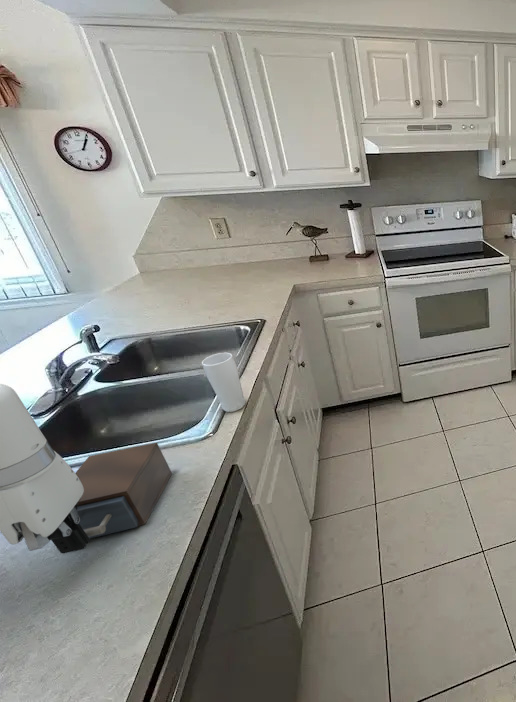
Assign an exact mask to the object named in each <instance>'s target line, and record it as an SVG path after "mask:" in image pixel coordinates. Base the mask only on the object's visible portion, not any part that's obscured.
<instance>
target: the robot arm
mask: <svg viewBox="0 0 516 702" xmlns="http://www.w3.org/2000/svg"><path fill="white" fill-rule="evenodd" d="M75 473H76V472H75V471H74V470H73V468H72V467H71V466H70V465H69V463H67V462H66V460H65V459H64V458H63V457H62V456H61V455H60V454H59V453H58V452H56V451H55V450H54V449H53V447H52V446H51V445H50V443H49V441H48V440H47V438H46V436H45V435H44V434H43V432H42V431H41V429H40V428H39V426H38V424H37V423H36V421H35V420H34V418H33V416H32V415H31V414H30V412H29V410H28V409H27V407H26V406H25V404H24V402H23V401H22V400H21V398H20V396H19V395H18V393H17V392H16V390H14V389H13V388H12V387H11V386H9V385H7V384H4V383H0V533H1V535H2V536H3V537H4V539H5V540H6V541H7V542H8V543H9V544H10V545H18V544H19V543H20V542H21V541H23V540H24V541H25V544H26V546H27V549H28V551H29V552H33V551H37V550H40V549H43V548H44V547H46V545H47V544H48V543H50V541H51V542H52V543H53V544H54V546H55V547H56V549H57V550H58V552H59V553H60V554H69V553H72V552H77V551H82V550H84V549H85V548H86V547H87V544H88V543H89V542H90V540H91V538H90V539H89V537H88V536H87V534H86V533H85V532H84V530H83V529H82V527H81V526H80V524H78V523H79V522H80V517H79V514H78V512H77V505H78V503H79V501H80V499H81V497H82V495H83V492H84V488H83V485H82V483H81V481H80V480H79V478H78V477H77V475H76V474H75Z"/></svg>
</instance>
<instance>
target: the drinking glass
mask: <svg viewBox="0 0 516 702" xmlns="http://www.w3.org/2000/svg"><path fill="white" fill-rule="evenodd" d="M201 366H202V368H203V371H204V373H205V376H206V378H207V380H208V382H209V384H210V386H211V389H212V390H213V392H214V394H215V395H216V397H217V399H218V401H219V404H220V405H221V408H222V410H223V411H224V412H226V413H232V412H237V411H239V410H241V409H242V408H244V406H245V405H246V399H245V396H244V391H243V388H242V384H241V379H240V374H239V371H238V366H237V364H236V361H235V359H234V356H233V354H232V353H231V352H218V353H213V354H211V355H209V356H207V357H205V358H204V359H203V360H202V361H201Z"/></svg>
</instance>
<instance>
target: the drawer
mask: <svg viewBox="0 0 516 702" xmlns="http://www.w3.org/2000/svg"><path fill="white" fill-rule="evenodd" d="M77 512H78V514H79V517H80V522H79V523H78V524H80V526H81V527H82V529H83V530H84V532H85V533H86V534H87V536H88V537H89V539H90V540H91V539H93V538H97V537H102V536H106V535H110V534H114V533H117V532H122V531H126V530H131V529H134V528H138V527H139V526H138V524H139V520H138V518H137V517H136V515H135V513H134V512H133V510H132V508H131V506H130V505H129V503H128V501H127V500H126V498H125V496H123V495H122V496H118V497H114V498H109V499H105V500H100V501H96V502H91V503H87V504H82V505H78V506H77Z"/></svg>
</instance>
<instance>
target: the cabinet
mask: <svg viewBox="0 0 516 702" xmlns="http://www.w3.org/2000/svg"><path fill="white" fill-rule="evenodd" d="M75 474H76V475H77V477H78V478H79V480H80V481H81V483H82V485H83V488H84V492H83V495H82V497H81V499H80V501H79V503H78V505H82V504H87V503H91V502H96V501H100V500H105V499H109V498H114V497H118V496H122V495H123V496H125V498H126V500H127V501H128V503H129V505H130V506H131V508H132V510H133V512H134V513H135V515H136V517H137V518H138V520H139V524H138V526H137V527H139V526H144V525H146V524H147V522H148V520H149V518H150V517H151V514H152V513H153V511H154V509H155V506H156V505H157V503H158V501H159V499H160V498H161V496H162V493H163V492H164V490H165V488H166V486H167V484H168V482H169V480H170V478H171V476H172V475H173V472H172V470H171V468H170V466H169V464H168V462H167V460H166V458H165V455H164V454H163V452H162V450H161V448H160V446H159V443H158V442H153V443H149V444H148V443H147V444H143V445H137V446H133V447H128V448H123V449H118V450H113V451H108V452H103V453H98V454H93V455H89V456H88V457H87V458H86V459H85V461H84V462H83V463H82V464H81V465H80V467H79V468H78V469H77V471H76V472H75ZM78 505H77V506H78Z"/></svg>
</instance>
